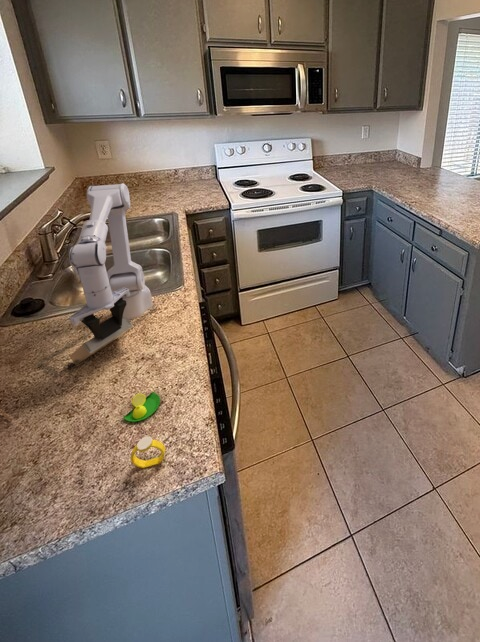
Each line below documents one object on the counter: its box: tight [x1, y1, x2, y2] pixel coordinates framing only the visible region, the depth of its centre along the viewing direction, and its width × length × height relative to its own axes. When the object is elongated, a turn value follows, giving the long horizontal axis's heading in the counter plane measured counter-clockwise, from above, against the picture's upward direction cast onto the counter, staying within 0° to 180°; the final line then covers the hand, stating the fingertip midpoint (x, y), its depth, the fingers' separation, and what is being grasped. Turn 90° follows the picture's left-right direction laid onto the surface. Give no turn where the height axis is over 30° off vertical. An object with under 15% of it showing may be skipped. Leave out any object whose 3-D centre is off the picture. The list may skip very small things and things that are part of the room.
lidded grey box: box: [69, 315, 133, 366], centre depth 98 cm, size 14×12×5 cm
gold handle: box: [67, 362, 76, 369], centre depth 101 cm, size 1×15×1 cm, turn 154°
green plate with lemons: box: [123, 392, 161, 422], centre depth 83 cm, size 8×8×3 cm
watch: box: [130, 435, 166, 469], centre depth 71 cm, size 6×3×6 cm, turn 103°
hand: (108, 331), depth 95 cm, fingers closed on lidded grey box, 5 cm apart
